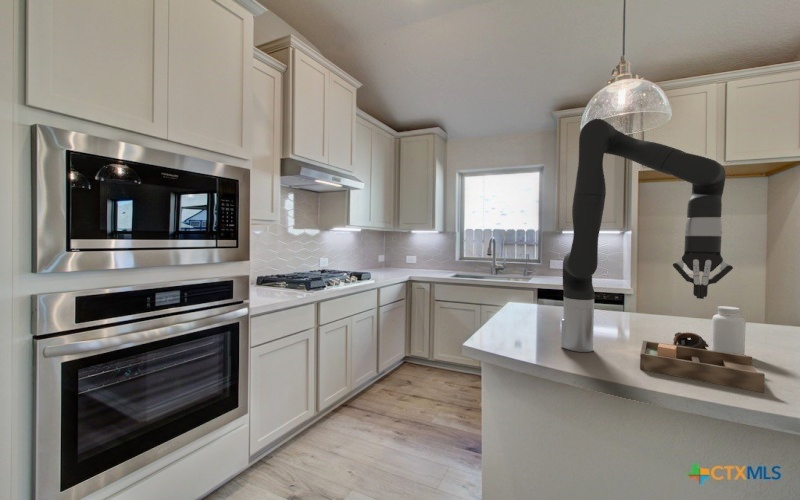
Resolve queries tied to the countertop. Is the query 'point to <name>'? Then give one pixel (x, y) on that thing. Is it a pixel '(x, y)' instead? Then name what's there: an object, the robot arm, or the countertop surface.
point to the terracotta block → (667, 350)
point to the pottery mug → (694, 342)
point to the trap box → (704, 366)
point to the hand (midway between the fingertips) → (699, 298)
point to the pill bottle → (728, 331)
